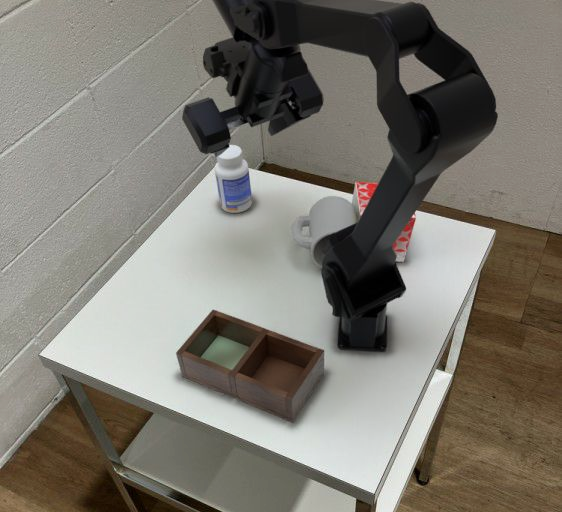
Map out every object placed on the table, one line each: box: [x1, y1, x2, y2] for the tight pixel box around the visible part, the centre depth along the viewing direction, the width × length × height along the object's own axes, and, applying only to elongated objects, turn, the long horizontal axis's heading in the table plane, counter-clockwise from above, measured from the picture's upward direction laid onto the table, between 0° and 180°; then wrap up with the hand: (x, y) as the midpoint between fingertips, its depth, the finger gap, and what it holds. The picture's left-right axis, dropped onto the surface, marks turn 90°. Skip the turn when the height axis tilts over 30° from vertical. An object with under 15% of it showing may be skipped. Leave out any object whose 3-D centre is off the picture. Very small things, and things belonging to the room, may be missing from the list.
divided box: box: [175, 309, 325, 423], centre depth 80 cm, size 16×9×5 cm, turn 61°
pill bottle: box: [214, 144, 253, 214], centre depth 102 cm, size 5×5×10 cm
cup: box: [290, 195, 357, 269], centre depth 94 cm, size 7×10×9 cm
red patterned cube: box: [351, 181, 417, 263], centre depth 94 cm, size 8×8×8 cm
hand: (243, 143), depth 92 cm, fingers open, 9 cm apart
